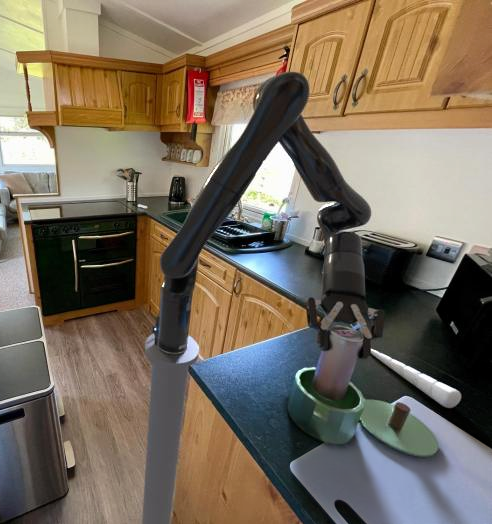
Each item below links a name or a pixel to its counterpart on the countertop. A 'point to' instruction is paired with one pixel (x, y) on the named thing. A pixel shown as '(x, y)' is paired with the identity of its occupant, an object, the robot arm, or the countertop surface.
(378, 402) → the pot lid
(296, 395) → the pot
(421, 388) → the unicorn horn
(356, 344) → the beverage can
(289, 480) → the countertop surface
